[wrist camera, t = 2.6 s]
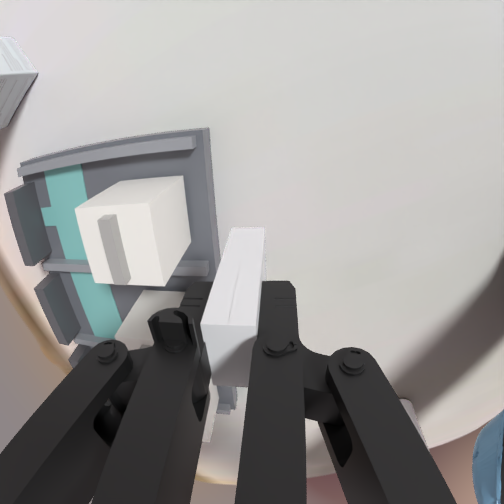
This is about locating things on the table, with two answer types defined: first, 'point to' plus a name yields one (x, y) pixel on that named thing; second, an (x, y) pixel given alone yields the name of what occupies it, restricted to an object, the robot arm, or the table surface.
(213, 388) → the switch slider
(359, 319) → the table surface
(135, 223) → the white block
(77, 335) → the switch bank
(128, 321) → the white block with ridge
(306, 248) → the table surface
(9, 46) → the supplement box
